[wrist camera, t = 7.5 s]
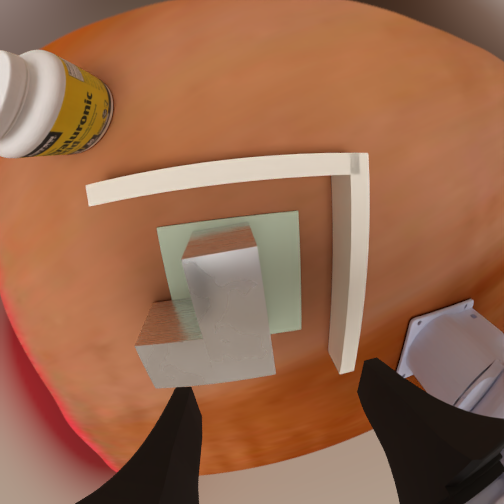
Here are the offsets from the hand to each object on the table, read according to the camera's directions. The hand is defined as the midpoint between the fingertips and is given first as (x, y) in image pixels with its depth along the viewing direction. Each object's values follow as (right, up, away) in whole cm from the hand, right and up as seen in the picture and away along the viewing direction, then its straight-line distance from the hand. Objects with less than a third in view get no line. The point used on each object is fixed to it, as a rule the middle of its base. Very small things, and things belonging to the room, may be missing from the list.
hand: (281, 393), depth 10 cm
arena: (-2, +4, +8) cm, 10 cm away
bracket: (-5, +3, +8) cm, 10 cm away
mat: (-2, +4, +8) cm, 10 cm away
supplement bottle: (-12, +15, +4) cm, 20 cm away
